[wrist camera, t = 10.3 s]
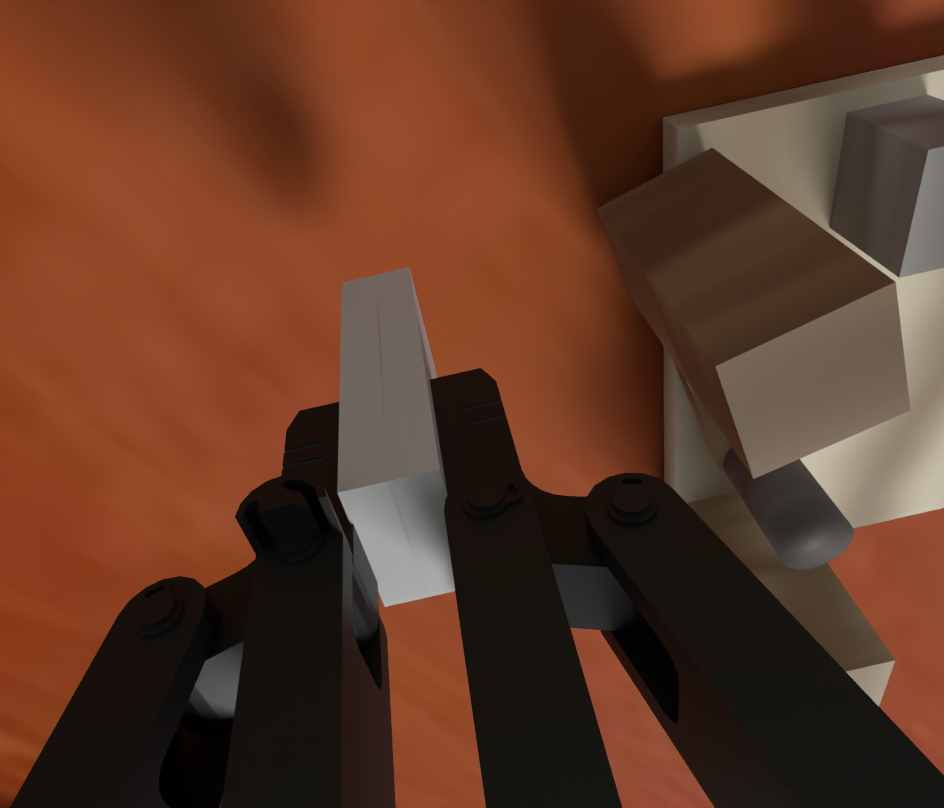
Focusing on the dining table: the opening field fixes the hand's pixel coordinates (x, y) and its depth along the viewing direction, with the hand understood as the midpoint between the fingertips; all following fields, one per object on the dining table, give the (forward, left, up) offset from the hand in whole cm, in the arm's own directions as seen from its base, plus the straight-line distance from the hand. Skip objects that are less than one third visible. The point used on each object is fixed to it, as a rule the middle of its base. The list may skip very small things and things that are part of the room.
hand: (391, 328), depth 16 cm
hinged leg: (+8, -4, -2) cm, 9 cm away
